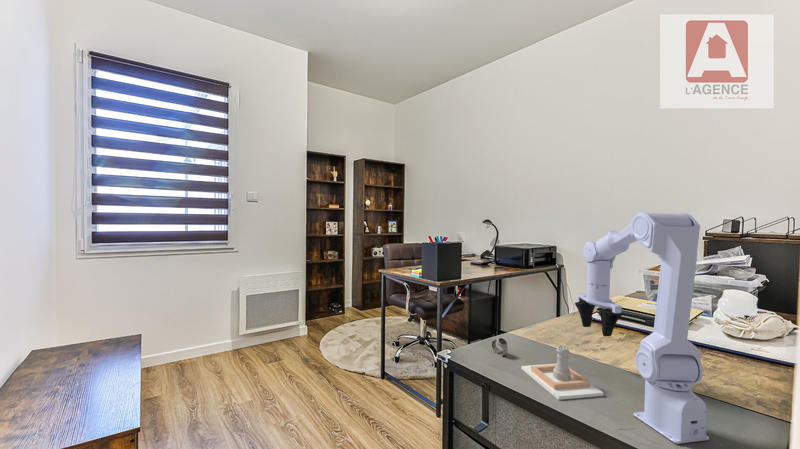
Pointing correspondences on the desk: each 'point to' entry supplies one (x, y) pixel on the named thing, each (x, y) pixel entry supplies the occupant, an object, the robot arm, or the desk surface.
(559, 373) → the rook chess piece
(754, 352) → the desk surface
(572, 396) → the socket holder
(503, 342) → the wristwatch
